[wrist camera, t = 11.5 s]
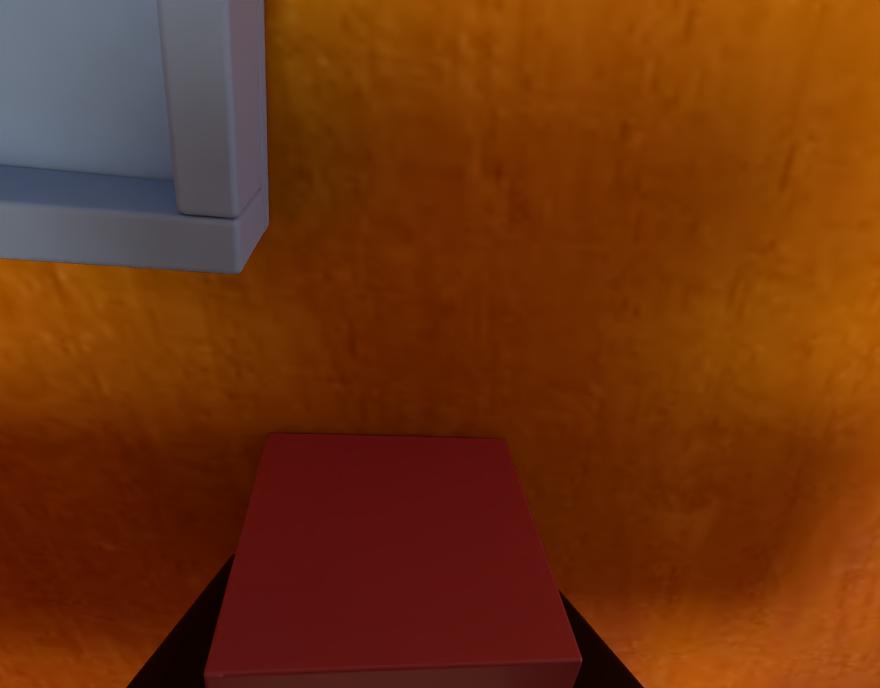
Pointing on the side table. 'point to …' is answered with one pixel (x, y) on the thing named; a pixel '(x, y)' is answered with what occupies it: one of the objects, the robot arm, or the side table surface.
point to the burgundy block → (390, 571)
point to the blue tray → (133, 132)
